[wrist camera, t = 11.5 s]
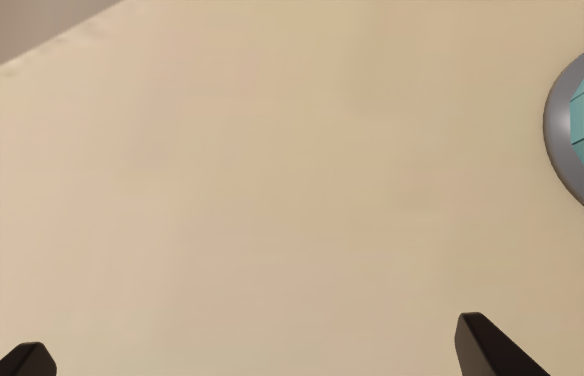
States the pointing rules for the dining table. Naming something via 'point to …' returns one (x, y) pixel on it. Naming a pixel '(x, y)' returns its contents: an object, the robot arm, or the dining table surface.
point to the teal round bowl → (567, 127)
